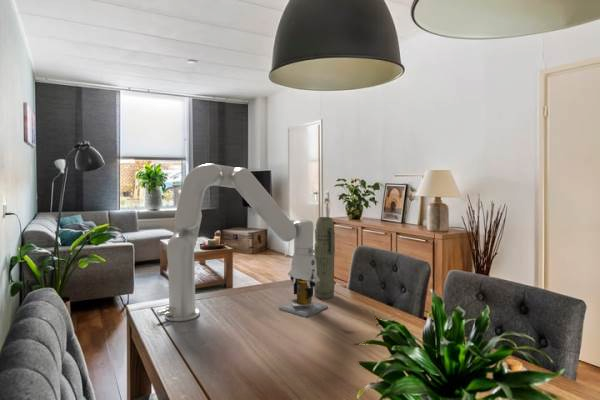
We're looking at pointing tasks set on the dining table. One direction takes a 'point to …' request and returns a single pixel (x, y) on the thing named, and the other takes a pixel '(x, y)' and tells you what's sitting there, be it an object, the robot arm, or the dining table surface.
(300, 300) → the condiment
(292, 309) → the plate
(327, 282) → the thermos
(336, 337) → the dining table surface
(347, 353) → the dining table surface
